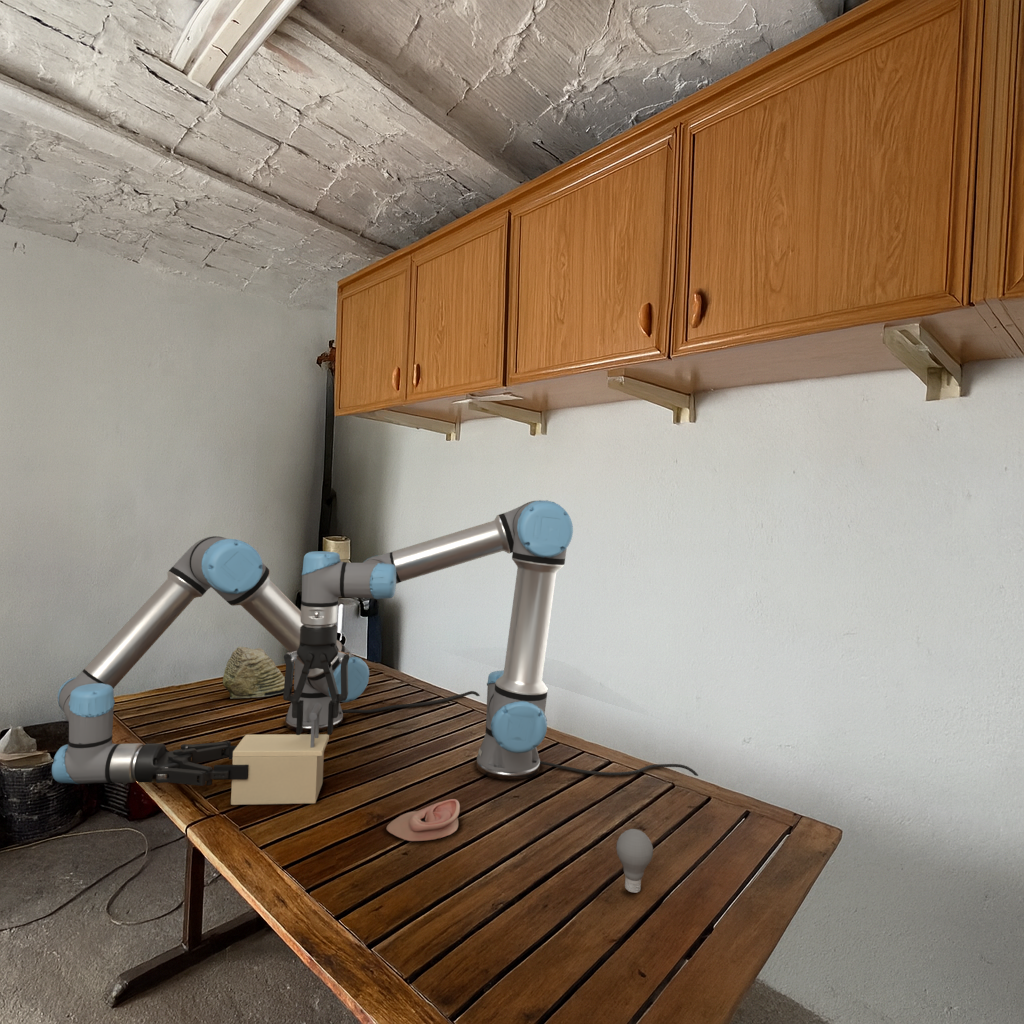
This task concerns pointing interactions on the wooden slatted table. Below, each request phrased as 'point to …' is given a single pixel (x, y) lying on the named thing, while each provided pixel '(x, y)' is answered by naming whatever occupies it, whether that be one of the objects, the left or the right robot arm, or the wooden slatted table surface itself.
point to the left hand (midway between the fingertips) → (254, 761)
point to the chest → (278, 780)
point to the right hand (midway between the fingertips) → (314, 732)
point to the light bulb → (634, 857)
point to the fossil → (252, 674)
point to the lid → (286, 742)
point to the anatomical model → (427, 822)
